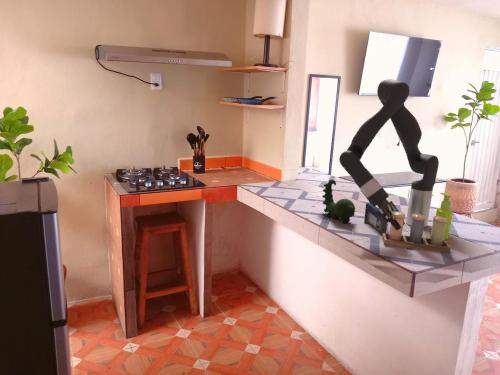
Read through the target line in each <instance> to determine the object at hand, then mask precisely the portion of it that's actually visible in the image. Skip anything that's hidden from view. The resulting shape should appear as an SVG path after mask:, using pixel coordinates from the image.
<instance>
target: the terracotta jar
mask: <svg viewBox="0 0 500 375" xmlns="http://www.w3.org/2000/svg"><path fill="white" fill-rule="evenodd" d="M393 216H394V218H395V220H397V222H398V223H399V224H400V226H401V228H400V229H399V230H396V229H395V228H394V227H393V225H392V224H391V223H390V227H389V232H388V234H389V237H388V240H395V241H401V235H403V229H404V225H405V224H404V222H405V218H406V214H405V213H404V212H401V211H399V212H393ZM403 224H404V225H403Z"/></svg>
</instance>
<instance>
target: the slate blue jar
mask: <svg viewBox="0 0 500 375" xmlns="http://www.w3.org/2000/svg"><path fill="white" fill-rule="evenodd" d="M425 218H426V216H424V215H421V214H412V222H411V225H410V230H409V235H408V236H409V242H412V243H420V244H421V242H422V237H423V235H424V228H425V227H424V223H425Z"/></svg>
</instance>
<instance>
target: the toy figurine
mask: <svg viewBox="0 0 500 375" xmlns="http://www.w3.org/2000/svg"><path fill="white" fill-rule="evenodd" d="M333 185H334V186H336V185H337V182H336V180H335V179H332V178H331V179H329V180H328V182H326V183H325V184H323V187H324V189H322V192H323V193H324V194H323V195H322V196H321V197H322V198H324V200H323V201H322V205H325V208H324V210H323V212H324V213H326V216H327V217H330V218H331V219H336V218H340V221H341V223H343V224H347V223H350V221H351V218H352V217H355V212H356V207H355V204H354V203H353V201H352V200H350V199H349V198H348V199H347V198H342V199H339V200H337V201H336V202H334V201H335V200H334V199H333V198H334V194H333V188H332V187H333Z"/></svg>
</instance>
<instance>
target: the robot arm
mask: <svg viewBox="0 0 500 375" xmlns="http://www.w3.org/2000/svg"><path fill="white" fill-rule="evenodd" d="M376 91H377V97H378V99H379V101H380V103H381V105H383V106H382V107H381V108H380V109H379V110H378V111H377V112H376V113H375V114H374V115H373V116H371V117H370V118H368V119H367V120H365V121H364V122H363V124H362V125H360V126H359V129H358V130H357V131H356V133H355V134H354V136H353V138H352V140H351V142H350V145H349V146H348V148H347V149H346V150H345V151H343V152H342V153H341V154H340V156H339V158H338V160H339V164H340V165H341V166H342V168H343V169H344V170H345V171H346V173H347V174H349V176H350V177H351V178H352V181H354V183H355V185H356V186H357V187H358V188H359V189H360V191H361V193H362V194H363V196H364V197H365V198H366V200H367V201H368V203H371V205H372V206H373V207H375V206H376V207H377V208H379V210H378V213H379V214H380V215H381V216H382V217H383V218H384V220H385V221H386V222H387V224H388V223H389V224H390V225H391V224H392V225H393V227H394V228H395V229H396V230H399V229H400V228H401V226H400V224H399V223H398V222H397V220H395V218H394V216H393V212H400V211H399V209H398V208H397V206H396V205H395V203H394V202H393V201H392V200H390V201H389V200H388V198H389V197H390V195H389V194H388V192H387V191H386V190H385V189H384V187H383V186H382V185H381V184H380V182H379V181H378V180H377V179H376V178H375V177H374V176H373V174H372V173H371V172H370V170H368V169H367V168H366V167H365V166H364V164H363V162H362V161H361V159H362V157H363V155H364V154H365V152H366V150H367V149H368V148H369V147H370V145H371V143H372V142H373V141H374V139H375V137H376V136H377V135H378V133H379V132H380V131H381V129H382V128H383V127H384V126H385V125H386V124H387V122H389V120H390V121H391V123H392V125H393V127H394V129H395V132H396V134H397V136H398V139H399V140H400V143H401V145H402V147H403V150H404V152H405V154H406V157H407V158H406V159H407V160H408V166H409V167H410V170H411V171H412V172H413V173H415V174H418V175H419V174H420V175H422V178H421V179H419V180H413V181H412V182H411V184H410V186H411V187H410V193H409V199H408V207H407V213H406V221H404V224H403V226H404V225H406V224H407V225H408V226H411V222H412V214H421V215H424V216H426V218H425V223H424V228H426V227H428V222H429V218H430V217H429V216H430V211H431V204H432V196H433V191H434V187H435V184H436V179H437V175H438V170H439V165H440V164H439V163H440V161H439V158H438V156H436V155H432V154H427V153H422V152H421V151H420V149H419V143H420V141H421V139H422V135H423V132H422V128H421V127H420V126H421V125H420V123H419V122H418V120H417V119H416V117H415V115H414V114H413V113H412V112H411V111H410V110H409V109H408V108H407V107H406V106H405V105H404V103H405V102H406V101H407V100H408V98H409V95H410V91H411V90H410V87H409V84H408V83H406V82H404V81H401V80H397V79H392V78H390V79H389V78H386V79H383V80H381V81H380V83H378V85H377V90H376Z"/></svg>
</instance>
